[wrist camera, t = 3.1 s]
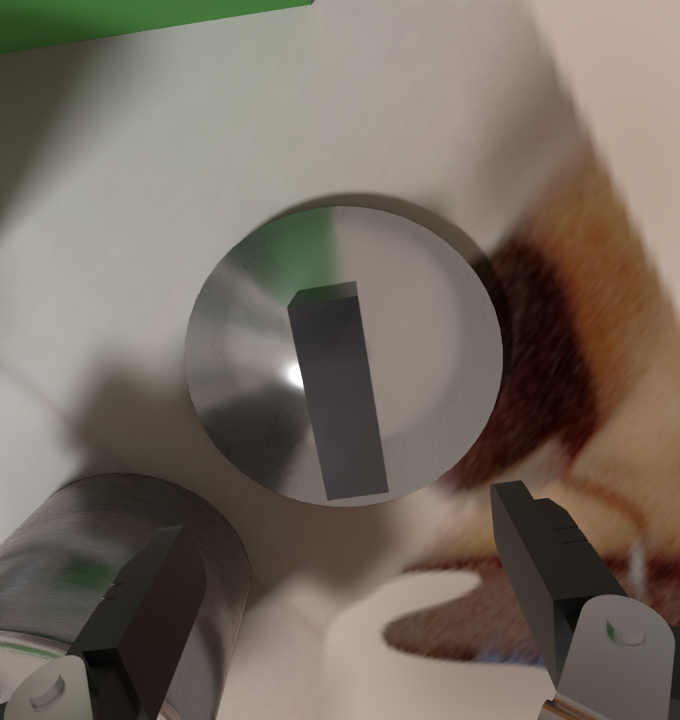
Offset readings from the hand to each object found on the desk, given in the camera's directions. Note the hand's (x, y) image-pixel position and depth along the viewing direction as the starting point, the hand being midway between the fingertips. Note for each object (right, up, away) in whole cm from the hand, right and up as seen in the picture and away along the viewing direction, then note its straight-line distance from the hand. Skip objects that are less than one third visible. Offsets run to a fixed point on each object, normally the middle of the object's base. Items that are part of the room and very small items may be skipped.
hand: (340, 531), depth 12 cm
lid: (0, +4, +12) cm, 13 cm away
